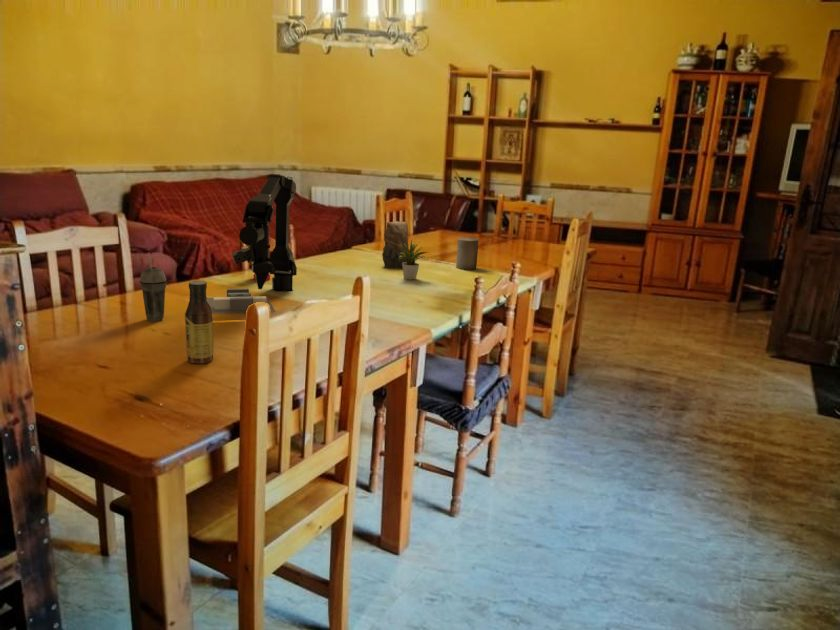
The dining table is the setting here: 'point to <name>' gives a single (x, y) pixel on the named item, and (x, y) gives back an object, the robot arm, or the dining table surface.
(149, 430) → the dining table surface
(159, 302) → the beverage cup
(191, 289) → the sauce bottle
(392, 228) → the rough stone block
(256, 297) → the light grey bar
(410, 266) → the house plant
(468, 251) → the pillar candle
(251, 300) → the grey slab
